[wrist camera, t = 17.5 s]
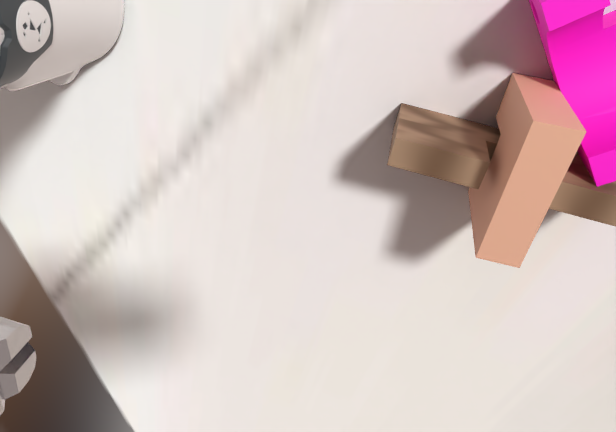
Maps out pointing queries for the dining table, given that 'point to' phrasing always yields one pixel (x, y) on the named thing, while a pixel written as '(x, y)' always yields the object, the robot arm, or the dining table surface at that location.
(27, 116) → the dining table surface
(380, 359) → the dining table surface
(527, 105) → the tan notched block
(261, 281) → the dining table surface
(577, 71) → the toy block
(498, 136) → the walnut rail
